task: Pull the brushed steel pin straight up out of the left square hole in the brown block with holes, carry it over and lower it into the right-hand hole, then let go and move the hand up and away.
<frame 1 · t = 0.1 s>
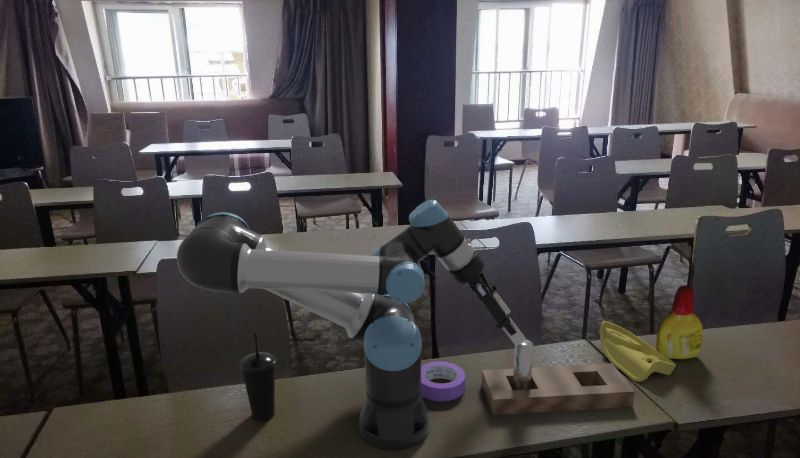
hand: (513, 327, 133), 15 cm above the table, tool tilted 35°, fingers open, 13 cm apart
masking tape: (440, 388, 137), on the table
brown block with holes: (554, 395, 133), on the table
drinking cup: (263, 415, 128), on the table
steel pin: (521, 397, 133), resting in brown block with holes
bottle: (675, 357, 149), on the table
plastic component: (632, 362, 147), on the table
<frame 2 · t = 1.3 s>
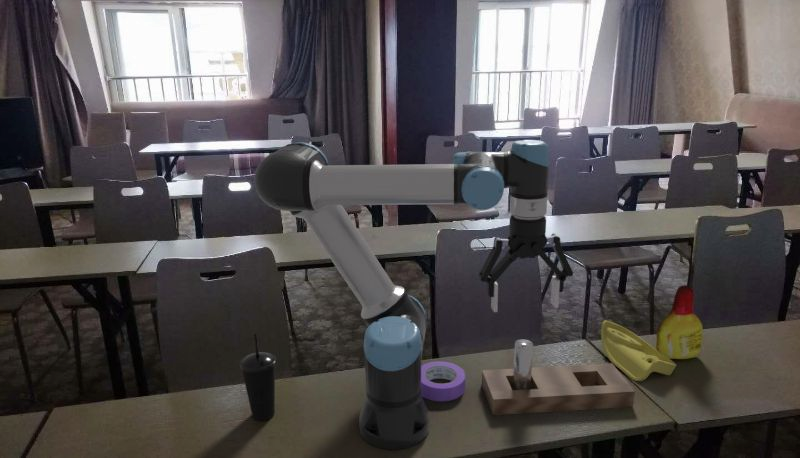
hand: (524, 307, 126), 23 cm above the table, tool pointing down, fingers open, 13 cm apart
nothing on the table moved.
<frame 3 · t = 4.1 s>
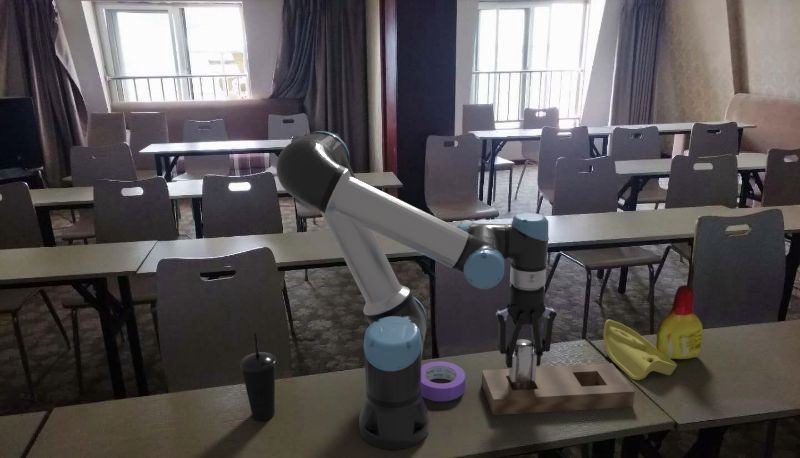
hand: (522, 378, 131), 5 cm above the table, tool pointing down, fingers closed on steel pin, 4 cm apart
steel pin: (520, 397, 133), resting in brown block with holes, touching gripper
when the fingers open (7 cm above the table, at t = 10.6 s): steel pin drops 1 cm, resting in brown block with holes.
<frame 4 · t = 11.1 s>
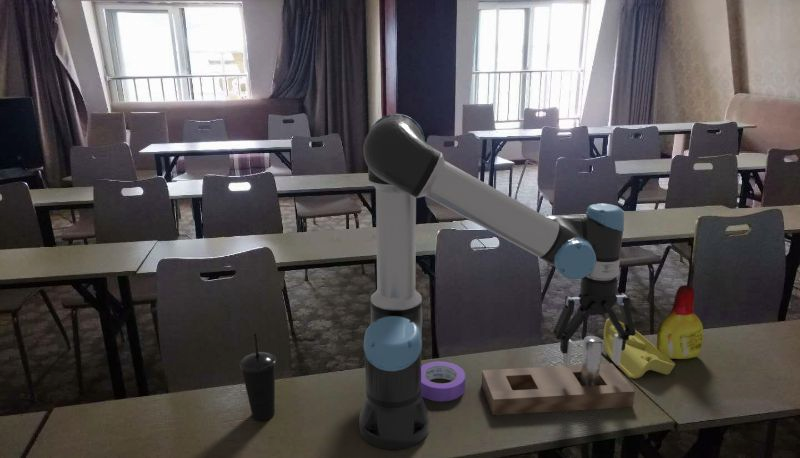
hand: (591, 363, 131), 8 cm above the table, tool pointing down, fingers open, 11 cm apart
steel pin: (587, 393, 134), resting in brown block with holes
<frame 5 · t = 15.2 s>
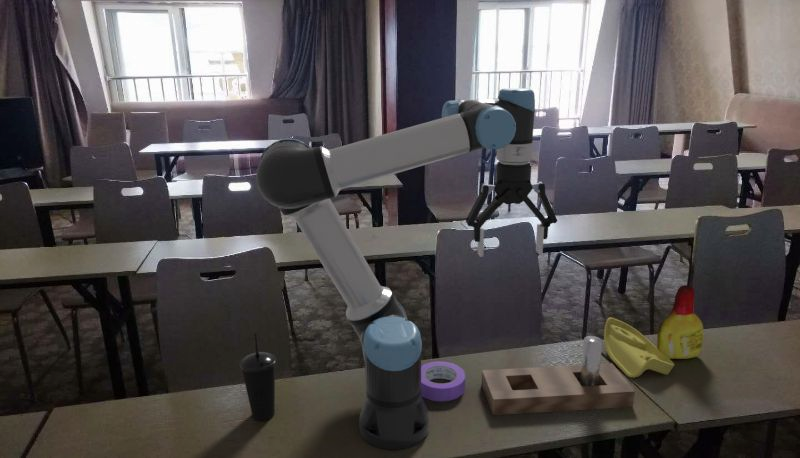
hand: (509, 253, 130), 33 cm above the table, tool pointing down, fingers open, 13 cm apart
at the end: steel pin 0.1 cm from the target spot on the brown block with holes, point 0.0 cm above the brown block with holes's base; steel pin tilted 0°; the gripper is holding nothing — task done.
